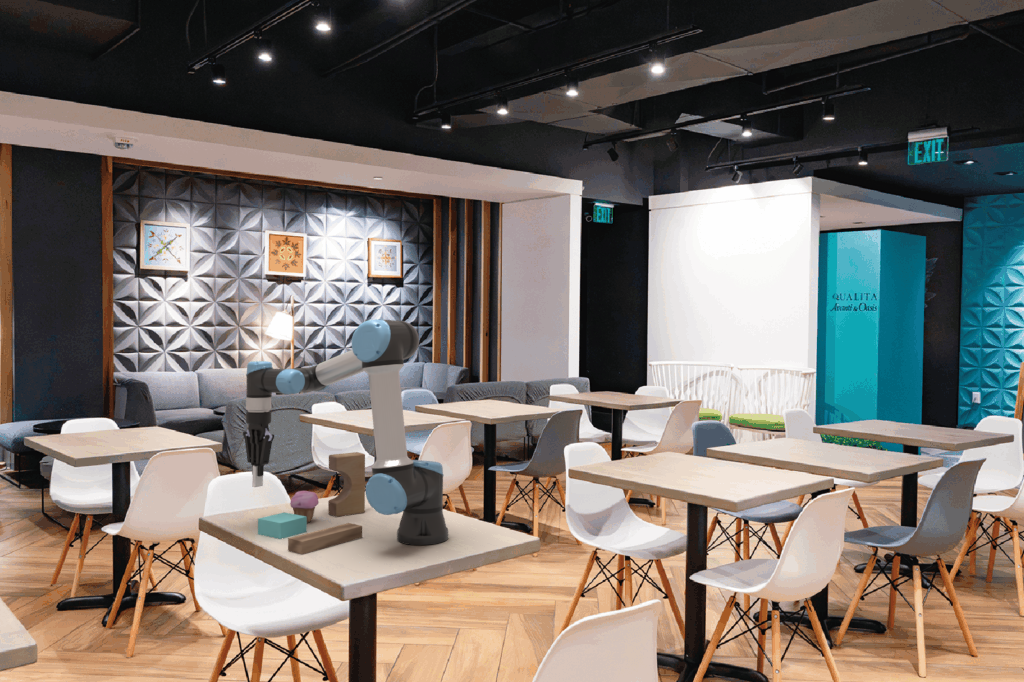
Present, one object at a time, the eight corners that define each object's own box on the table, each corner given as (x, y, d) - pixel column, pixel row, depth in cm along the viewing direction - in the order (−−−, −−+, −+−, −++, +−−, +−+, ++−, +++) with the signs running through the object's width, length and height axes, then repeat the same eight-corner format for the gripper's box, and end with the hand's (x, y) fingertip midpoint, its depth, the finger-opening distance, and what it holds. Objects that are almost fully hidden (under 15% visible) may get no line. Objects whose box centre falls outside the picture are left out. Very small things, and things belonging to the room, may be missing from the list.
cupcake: (294, 518, 247) (294, 488, 247) (320, 518, 248) (321, 488, 248) (287, 525, 238) (287, 493, 238) (314, 525, 239) (315, 493, 239)
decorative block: (334, 517, 249) (335, 456, 249) (327, 514, 254) (328, 454, 254) (365, 512, 256) (365, 453, 256) (357, 509, 261) (358, 451, 260)
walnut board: (362, 537, 224) (362, 525, 224) (302, 554, 207) (302, 541, 207) (348, 534, 228) (348, 522, 228) (288, 550, 210) (288, 538, 210)
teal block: (306, 532, 231) (306, 516, 231) (280, 540, 222) (280, 523, 222) (284, 528, 236) (284, 512, 236) (257, 535, 228) (257, 518, 228)
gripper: (282, 411, 235) (280, 487, 235) (256, 408, 243) (255, 481, 243) (261, 413, 229) (260, 491, 229) (235, 410, 237) (234, 485, 237)
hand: (257, 486), depth 236 cm, fingers closed
